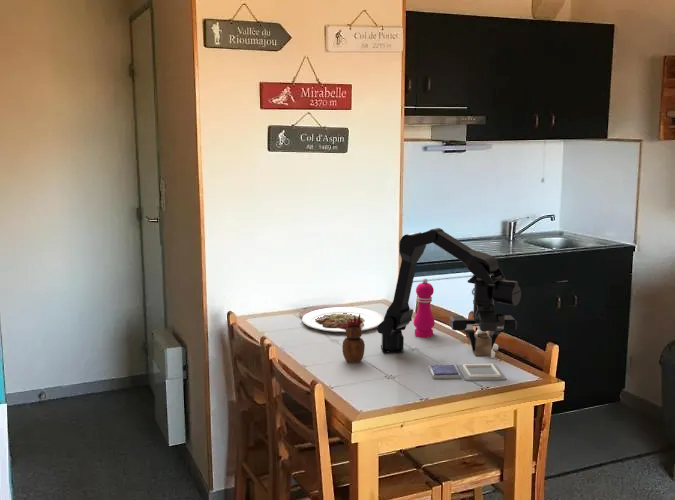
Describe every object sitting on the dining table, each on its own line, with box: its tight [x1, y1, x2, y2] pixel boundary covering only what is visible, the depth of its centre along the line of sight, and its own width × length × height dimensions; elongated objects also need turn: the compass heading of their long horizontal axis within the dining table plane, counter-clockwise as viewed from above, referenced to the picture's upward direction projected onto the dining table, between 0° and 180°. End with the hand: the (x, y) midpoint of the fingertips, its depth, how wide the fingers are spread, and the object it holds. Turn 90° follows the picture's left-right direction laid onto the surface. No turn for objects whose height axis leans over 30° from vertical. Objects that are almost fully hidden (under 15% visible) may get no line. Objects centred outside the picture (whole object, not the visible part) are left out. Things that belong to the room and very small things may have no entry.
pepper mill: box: [413, 278, 436, 338], centre depth 246 cm, size 7×7×20 cm
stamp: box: [471, 332, 492, 358], centre depth 210 cm, size 4×4×6 cm
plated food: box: [301, 306, 385, 333], centre depth 262 cm, size 30×30×3 cm
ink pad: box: [427, 364, 462, 380], centre depth 211 cm, size 8×8×1 cm
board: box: [456, 363, 508, 382], centre depth 212 cm, size 12×12×1 cm
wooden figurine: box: [342, 314, 366, 364], centre depth 221 cm, size 7×6×15 cm
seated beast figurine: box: [469, 326, 499, 359], centre depth 229 cm, size 10×9×12 cm
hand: (481, 350), depth 211 cm, fingers closed on stamp, 4 cm apart
